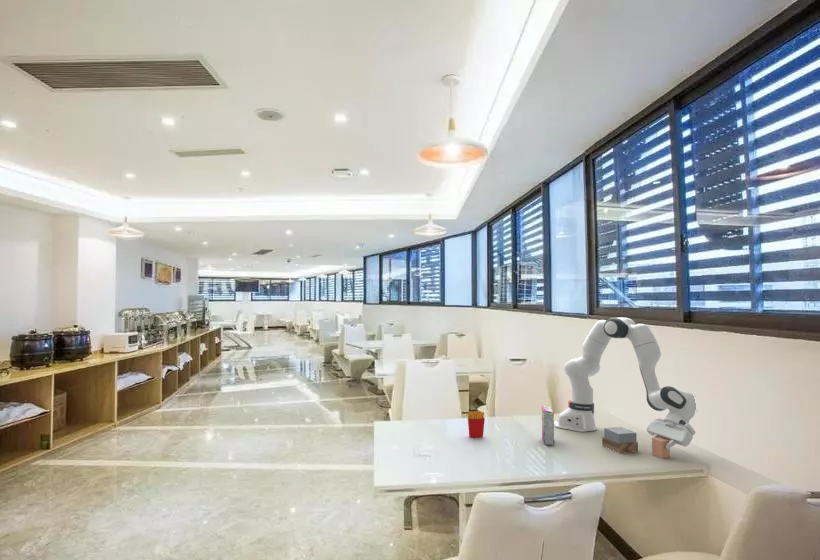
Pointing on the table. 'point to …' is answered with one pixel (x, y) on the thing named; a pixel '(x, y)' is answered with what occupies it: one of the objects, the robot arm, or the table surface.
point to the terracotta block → (660, 447)
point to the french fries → (476, 424)
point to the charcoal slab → (620, 435)
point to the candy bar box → (547, 425)
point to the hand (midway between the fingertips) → (659, 446)
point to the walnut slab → (619, 446)
